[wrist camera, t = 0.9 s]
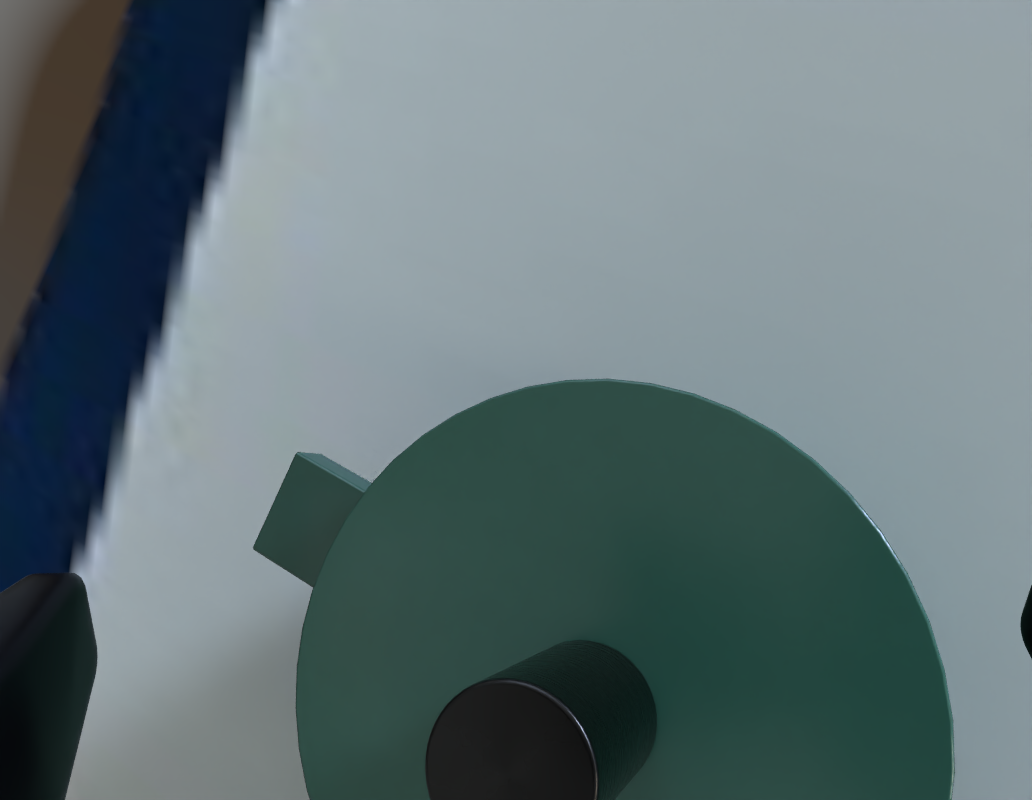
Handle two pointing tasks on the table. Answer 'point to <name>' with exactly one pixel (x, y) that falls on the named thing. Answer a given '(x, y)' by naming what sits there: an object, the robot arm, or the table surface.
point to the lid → (616, 617)
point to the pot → (308, 514)
